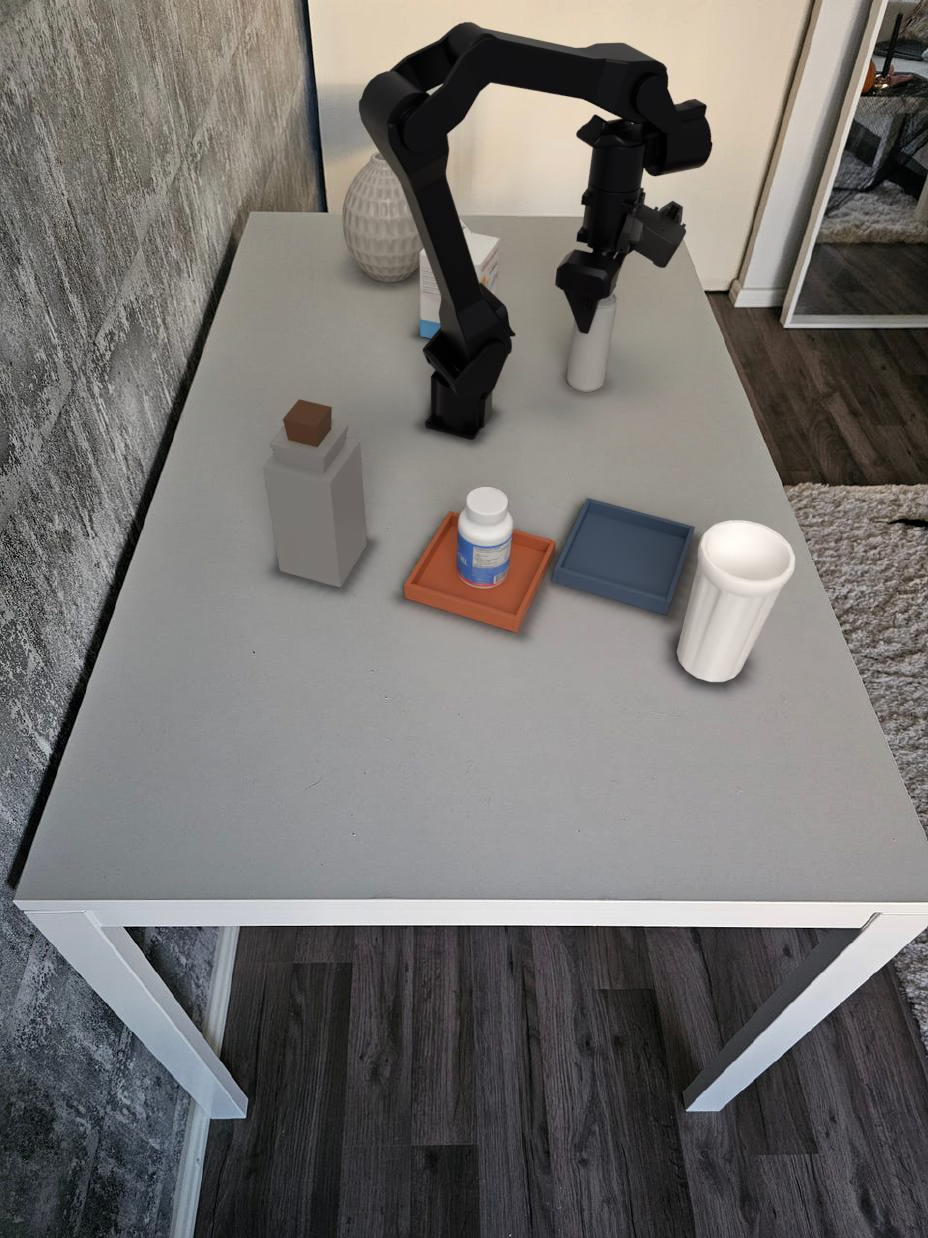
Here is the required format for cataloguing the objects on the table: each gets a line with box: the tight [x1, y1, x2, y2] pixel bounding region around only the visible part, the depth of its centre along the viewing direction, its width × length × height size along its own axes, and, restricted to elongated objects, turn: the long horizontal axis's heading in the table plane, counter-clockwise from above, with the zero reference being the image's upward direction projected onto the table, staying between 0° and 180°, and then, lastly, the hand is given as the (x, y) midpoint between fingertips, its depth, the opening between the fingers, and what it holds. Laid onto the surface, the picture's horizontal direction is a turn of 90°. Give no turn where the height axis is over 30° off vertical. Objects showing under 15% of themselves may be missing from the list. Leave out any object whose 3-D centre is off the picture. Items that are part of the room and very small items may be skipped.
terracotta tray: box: [403, 510, 557, 634], centre depth 93 cm, size 12×12×2 cm
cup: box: [676, 519, 797, 683], centre depth 82 cm, size 8×8×14 cm
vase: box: [341, 150, 424, 284], centre depth 129 cm, size 13×13×17 cm
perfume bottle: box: [262, 399, 368, 588], centre depth 88 cm, size 7×7×18 cm
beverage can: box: [566, 291, 618, 393], centre depth 113 cm, size 5×5×12 cm
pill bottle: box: [457, 486, 514, 589], centre depth 90 cm, size 6×5×10 cm
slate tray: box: [551, 497, 696, 616], centre depth 95 cm, size 12×12×2 cm
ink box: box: [419, 219, 501, 339], centre depth 121 cm, size 9×8×13 cm
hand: (594, 314), depth 110 cm, fingers open, 9 cm apart
